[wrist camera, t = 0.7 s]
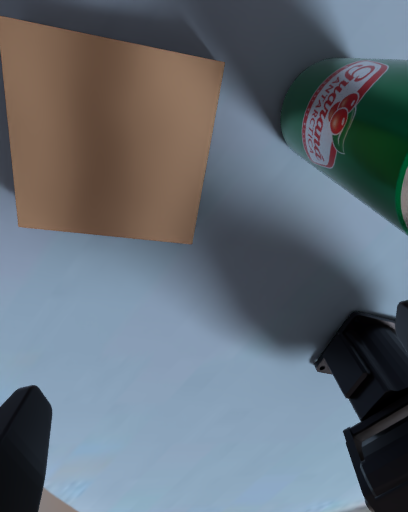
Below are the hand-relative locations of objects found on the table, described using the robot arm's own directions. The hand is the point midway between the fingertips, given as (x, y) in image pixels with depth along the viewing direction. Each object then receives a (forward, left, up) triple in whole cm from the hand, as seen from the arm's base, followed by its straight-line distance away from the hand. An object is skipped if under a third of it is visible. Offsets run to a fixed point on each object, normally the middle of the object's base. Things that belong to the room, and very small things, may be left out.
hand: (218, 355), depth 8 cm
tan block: (+4, -1, -13) cm, 14 cm away
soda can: (-6, -6, -14) cm, 16 cm away
